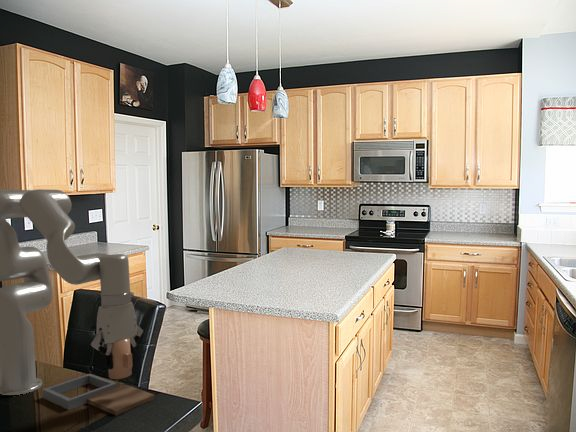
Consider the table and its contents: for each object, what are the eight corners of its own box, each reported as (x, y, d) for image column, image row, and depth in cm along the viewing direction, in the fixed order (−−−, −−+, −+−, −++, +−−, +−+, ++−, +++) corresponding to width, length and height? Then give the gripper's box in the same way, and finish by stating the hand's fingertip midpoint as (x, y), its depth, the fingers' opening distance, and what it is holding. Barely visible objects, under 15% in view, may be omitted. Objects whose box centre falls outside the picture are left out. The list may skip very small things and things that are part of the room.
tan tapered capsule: (121, 369, 134) (119, 334, 134) (140, 375, 129) (138, 338, 129) (102, 375, 130) (100, 339, 129) (121, 382, 124) (119, 344, 124)
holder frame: (43, 398, 134) (42, 389, 134) (90, 381, 145) (90, 373, 145) (68, 410, 125) (68, 401, 125) (117, 391, 137) (116, 383, 137)
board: (86, 403, 129) (86, 398, 129) (125, 388, 139) (125, 384, 139) (115, 415, 121) (115, 411, 121) (154, 399, 130) (154, 394, 130)
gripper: (135, 292, 138) (138, 353, 139) (78, 304, 125) (82, 371, 125) (150, 295, 134) (154, 357, 134) (94, 307, 120) (98, 377, 120)
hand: (119, 364), depth 130 cm, fingers closed on tan tapered capsule, 6 cm apart
